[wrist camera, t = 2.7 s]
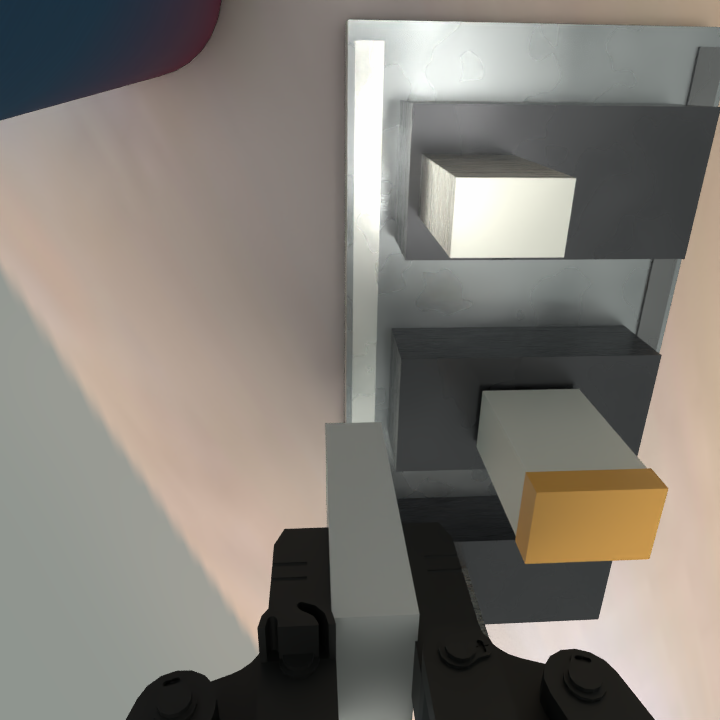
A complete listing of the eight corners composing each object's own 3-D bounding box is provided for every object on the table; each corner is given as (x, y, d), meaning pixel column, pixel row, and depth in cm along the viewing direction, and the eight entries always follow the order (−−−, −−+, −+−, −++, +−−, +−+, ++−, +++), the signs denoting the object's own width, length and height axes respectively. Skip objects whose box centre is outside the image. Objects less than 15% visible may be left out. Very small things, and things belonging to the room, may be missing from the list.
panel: (345, 24, 18) (367, -16, 10) (705, 31, 19) (965, -2, 11) (343, 589, 27) (355, 782, 20) (585, 579, 28) (684, 762, 20)
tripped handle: (480, 389, 18) (536, 492, 14) (580, 387, 19) (668, 488, 14) (474, 448, 19) (524, 563, 15) (570, 445, 20) (649, 559, 15)
